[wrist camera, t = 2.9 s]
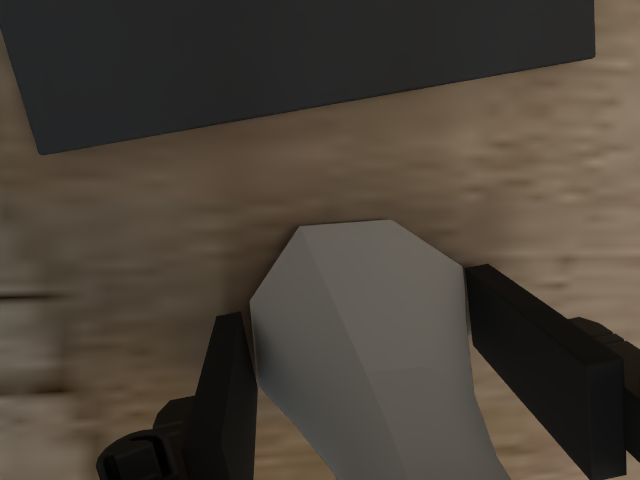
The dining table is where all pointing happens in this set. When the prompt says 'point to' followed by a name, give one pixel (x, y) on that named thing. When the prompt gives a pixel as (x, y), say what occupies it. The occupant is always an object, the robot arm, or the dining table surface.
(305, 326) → the flask
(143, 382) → the dining table surface
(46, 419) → the dining table surface
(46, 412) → the dining table surface
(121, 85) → the placemat
